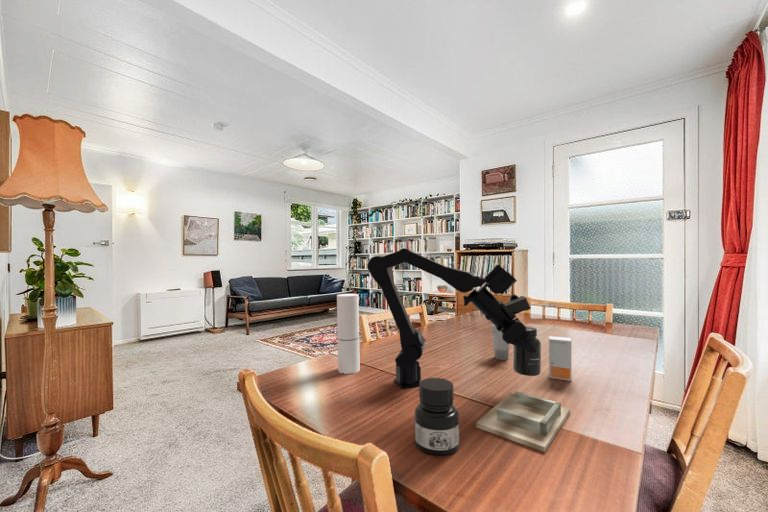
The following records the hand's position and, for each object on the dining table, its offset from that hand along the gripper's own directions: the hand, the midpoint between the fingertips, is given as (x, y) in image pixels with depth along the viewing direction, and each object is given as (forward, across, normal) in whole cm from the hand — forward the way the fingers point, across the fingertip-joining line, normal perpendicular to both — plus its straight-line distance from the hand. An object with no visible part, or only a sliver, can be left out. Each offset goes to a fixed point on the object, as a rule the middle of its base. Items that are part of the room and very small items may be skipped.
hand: (532, 348), depth 88 cm
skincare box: (+16, +13, +1) cm, 21 cm away
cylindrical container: (-30, +7, +48) cm, 57 cm away
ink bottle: (-8, -29, +26) cm, 39 cm away
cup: (+6, +29, +12) cm, 32 cm away
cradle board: (+5, -16, +12) cm, 21 cm away
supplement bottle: (+4, 0, +6) cm, 7 cm away
